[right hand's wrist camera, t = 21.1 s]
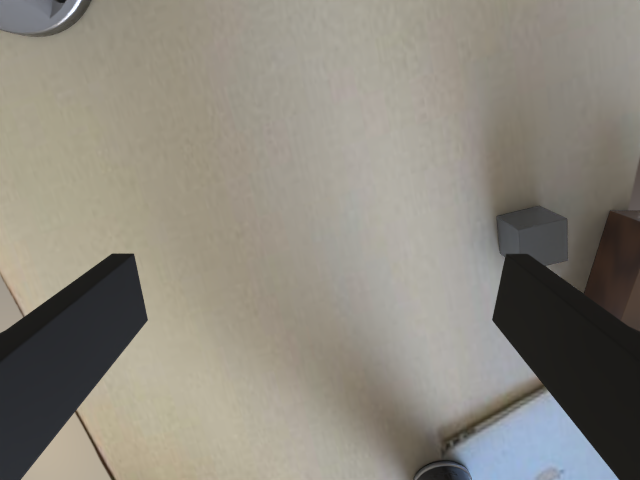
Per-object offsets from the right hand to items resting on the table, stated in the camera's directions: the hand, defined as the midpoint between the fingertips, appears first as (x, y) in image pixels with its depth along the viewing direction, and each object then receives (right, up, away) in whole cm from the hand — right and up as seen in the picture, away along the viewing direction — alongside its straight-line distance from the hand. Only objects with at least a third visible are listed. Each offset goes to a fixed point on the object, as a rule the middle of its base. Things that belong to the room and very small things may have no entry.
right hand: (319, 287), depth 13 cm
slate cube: (+24, +3, +30) cm, 38 cm away
